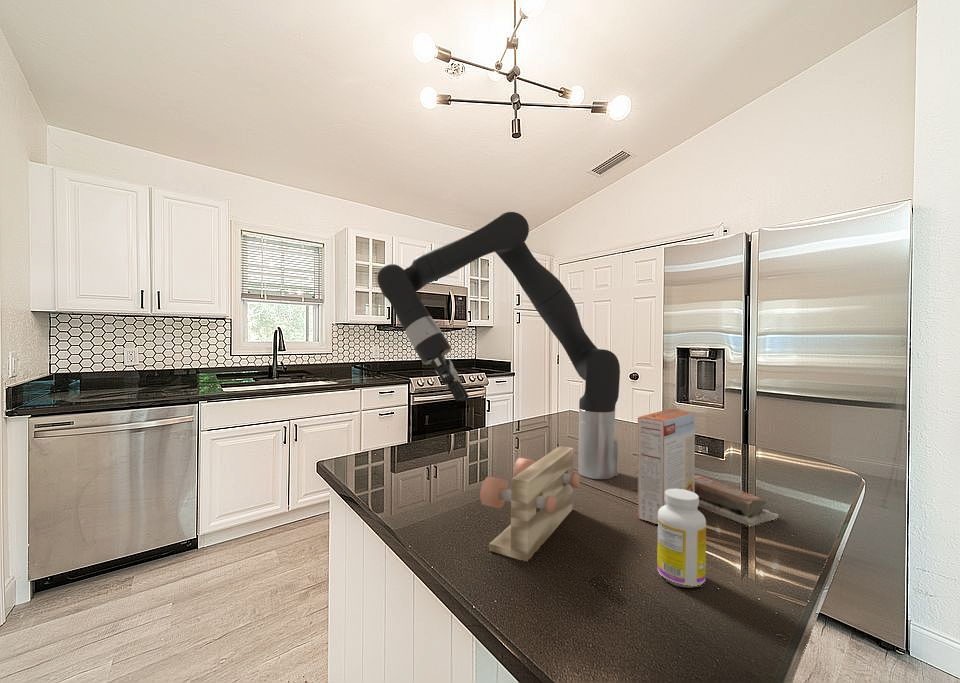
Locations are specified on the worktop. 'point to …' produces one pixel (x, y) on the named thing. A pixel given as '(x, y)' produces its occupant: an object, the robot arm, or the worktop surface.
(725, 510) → the packaged product
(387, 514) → the worktop surface
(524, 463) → the knob
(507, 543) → the knob panel
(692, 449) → the cracker box
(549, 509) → the knob
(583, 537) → the worktop surface
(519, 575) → the worktop surface
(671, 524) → the supplement bottle
